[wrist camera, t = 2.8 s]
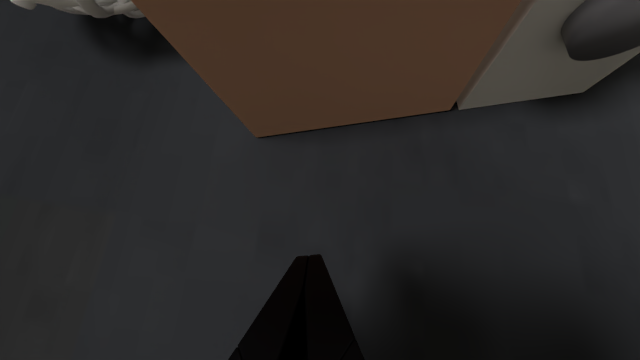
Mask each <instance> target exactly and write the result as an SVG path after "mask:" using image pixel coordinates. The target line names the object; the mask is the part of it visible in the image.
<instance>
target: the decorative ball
mask: <svg viewBox="0 0 640 360" xmlns="http://www.w3.org/2000/svg"><path fill="white" fill-rule="evenodd" d="M10 1H11V2H13V3H14V4H16V5H18V6H21V7H23V8H26V9H29V10H33V9H34V8H35V7H36V3H38V4H43V5H48V6H52V7H54V8H56V9H58V10H62V11H65V12H68V13H72V14H80V15H91V16H93V17H95V18H107V17H110V16H112V15H117V14H124V15H126V16H127V17H130V18H142V17H145V15H144V14H143V13H142V12H141V11H140V10H138V8H137V7H136V6H135V5H134V3H133V2H132V1H131V0H10ZM135 10H137V11H135Z"/></svg>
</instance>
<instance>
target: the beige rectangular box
mask: <svg viewBox="0 0 640 360" xmlns="http://www.w3.org/2000/svg"><path fill="white" fill-rule="evenodd" d="M639 53H640V0H521V2H520V3H519V5H518V6H517V8H516V10H515V11H514V13H513V14H512V16H511V17H510V19H509V20H508V22H507V23H506V25H505V26H504V28H503V29H502V31H501V33H500V34H499V36H498V37H497V39H496V40H495V42H494V43H493V45H492V46H491V48H490V49H489V51H488V52H487V54H486V56H485V57H484V59H483V60H482V62H481V63H480V65H479V66H478V68H477V69H476V71H475V72H474V74H473V75H472V77H471V79H470V80H469V82H468V83H467V85H466V86H465V88H464V89H463V91H462V92H461V94H460V95H459V97H458V98H457V100H456V101H457V105H458V109H459V110H462V109H469V108H476V107H484V106H491V105H498V104H505V103H512V102H519V101H526V100H533V99H540V98H547V97H554V96H561V95H568V94H575V93H583V92H584V91H586V90H587V89H589V88H590V87H592V86H593V85H594V84H596V83H597V82H599V81H600V80H602V79H603V78H604V77H606V76H607V75H609V74H610V73H611V72H613V71H614V70H616V69H617V68H619V67H620V66H621V65H623V64H624V63H626V62H627V61H629V60H630V59H631V58H633V57H634V56H636V55H637V54H639Z"/></svg>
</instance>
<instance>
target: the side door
mask: <svg viewBox="0 0 640 360" xmlns="http://www.w3.org/2000/svg"><path fill="white" fill-rule="evenodd" d="M131 1H132V2H133V3H134V5H135V6H136V7H137V8H138V9H139V10H140V11H141V12H142V13H143V14H144V15H145V17H146V18H147V19H148V20H149V21H150V22H151V23H152V24H153V25H154V26H155V27H156V29H157V30H158V31H159V32H160V33H161V34H162V35H163V36H164V37H165V38H166V40H167V41H168V42H169V43H170V44H171V45H172V46H173V47H174V48H175V49H176V50H177V52H178V53H179V54H180V55H181V56H182V57H183V58H184V59H185V60H186V61H187V62H188V64H189V65H190V66H191V67H192V68H193V69H194V70H195V71H196V72H197V73H198V74H199V76H200V77H201V78H202V79H203V80H204V81H205V82H206V83H207V84H208V85H209V86H210V88H211V89H212V90H213V91H214V92H215V93H216V94H217V95H218V96H219V97H220V99H221V100H222V101H223V102H224V103H225V104H226V105H227V106H228V107H229V108H230V109H231V111H232V112H233V113H234V114H235V115H236V116H237V117H238V118H239V119H240V120H241V121H242V123H243V124H244V125H245V126H246V127H247V128H248V129H249V130H250V131H251V132H252V133H253V135H254V136H255V137H256V138H257V137H264V136H271V135H278V134H285V133H292V132H299V131H306V130H313V129H320V128H327V127H334V126H342V125H349V124H356V123H363V122H370V121H377V120H384V119H391V118H398V117H405V116H412V115H419V114H426V113H433V112H440V111H447V110H450V109H451V108H452V106H453V105H454V103H455V102H456V100H457V98H458V97H459V95H460V94H461V92H462V91H463V89H464V88H465V86H466V85H467V83H468V82H469V80H470V79H471V77H472V75H473V74H474V72H475V71H476V69H477V68H478V66H479V65H480V63H481V62H482V60H483V59H484V57H485V56H486V54H487V52H488V51H489V49H490V48H491V46H492V45H493V43H494V42H495V40H496V39H497V37H498V36H499V34H500V33H501V31H502V29H503V28H504V26H505V25H506V23H507V22H508V20H509V19H510V17H511V16H512V14H513V13H514V11H515V10H516V8H517V6H518V5H519V3H520V2H521V0H131Z"/></svg>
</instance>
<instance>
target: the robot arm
mask: <svg viewBox="0 0 640 360" xmlns="http://www.w3.org/2000/svg"><path fill="white" fill-rule="evenodd" d="M228 360H364V357H363V355H362V353H361V351H360V348H359V346H358V343H357V341H356V339H355V336H354V334H353V331H352V329H351V326H350V324H349V322H348V319H347V317H346V314H345V312H344V309H343V307H342V305H341V302H340V300H339V297H338V295H337V292H336V290H335V287H334V285H333V283H332V280H331V278H330V275H329V273H328V270H327V268H326V266H325V263H324V261H323V258H322V256H321V255H320V254H317V255H310V256H298V257H296V258H295V260H294V261H293V263H292V264H291V266H290V267H289V269H288V270H287V272H286V273H285V275H284V276H283V278H282V279H281V281H280V282H279V284H278V285H277V287H276V288H275V290H274V291H273V293H272V294H271V296H270V298H269V299H268V301H267V302H266V304H265V305H264V307H263V308H262V310H261V311H260V313H259V314H258V316H257V317H256V319H255V320H254V322H253V323H252V325H251V326H250V328H249V329H248V331H247V332H246V334H245V335H244V337H243V338H242V340H241V341H240V343H239V344H238V347H237V348H236V349H235V350H234V352H233V353H232V355H231V356H230V358H229V359H228Z"/></svg>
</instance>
